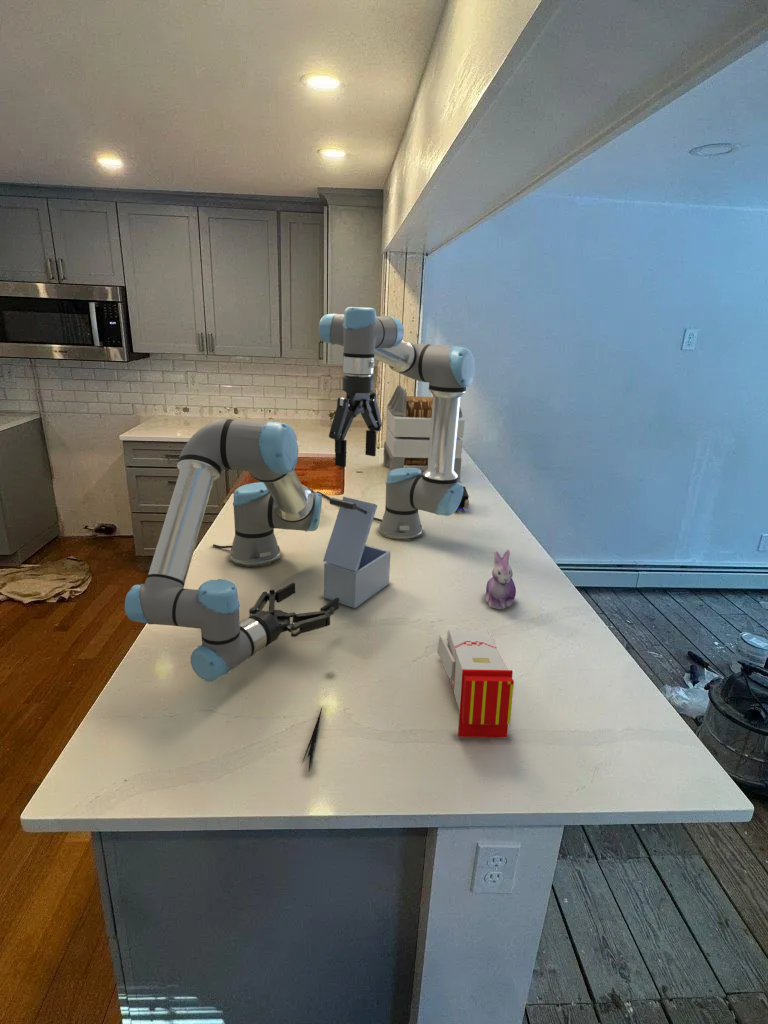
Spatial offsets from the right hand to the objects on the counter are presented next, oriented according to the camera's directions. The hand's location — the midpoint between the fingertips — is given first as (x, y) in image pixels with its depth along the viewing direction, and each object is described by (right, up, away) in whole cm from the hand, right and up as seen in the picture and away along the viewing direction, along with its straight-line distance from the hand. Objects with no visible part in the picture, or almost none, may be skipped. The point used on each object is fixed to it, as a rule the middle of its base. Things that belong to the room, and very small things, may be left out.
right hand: (356, 460), depth 144 cm
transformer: (+24, +6, +131) cm, 133 cm away
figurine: (+39, -38, +12) cm, 56 cm away
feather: (-5, -53, -35) cm, 64 cm away
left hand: (-10, -34, -3) cm, 35 cm away
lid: (-2, -19, +6) cm, 20 cm away
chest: (0, -35, +15) cm, 38 cm away
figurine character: (+37, -12, +85) cm, 93 cm away
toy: (+25, -51, -25) cm, 62 cm away
